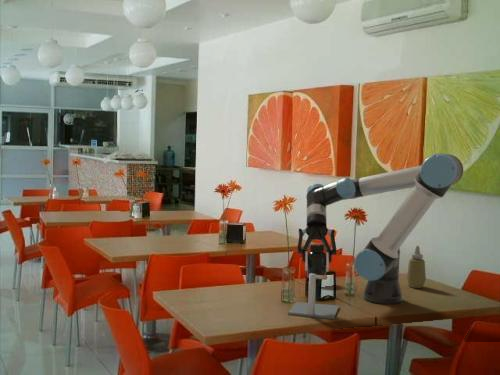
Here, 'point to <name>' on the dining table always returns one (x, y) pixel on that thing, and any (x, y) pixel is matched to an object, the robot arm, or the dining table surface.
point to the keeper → (312, 308)
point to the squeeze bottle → (416, 270)
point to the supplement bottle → (316, 260)
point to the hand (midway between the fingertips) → (316, 268)
